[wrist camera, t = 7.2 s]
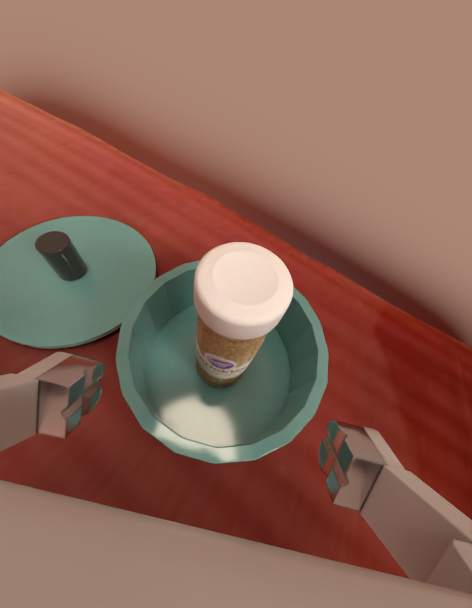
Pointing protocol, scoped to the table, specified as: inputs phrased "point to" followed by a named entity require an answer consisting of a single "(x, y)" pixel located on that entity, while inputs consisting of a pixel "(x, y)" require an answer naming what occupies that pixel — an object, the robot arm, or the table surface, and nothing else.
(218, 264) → the sprinkles bottle
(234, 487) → the table surface
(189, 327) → the pan
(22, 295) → the pan lid
